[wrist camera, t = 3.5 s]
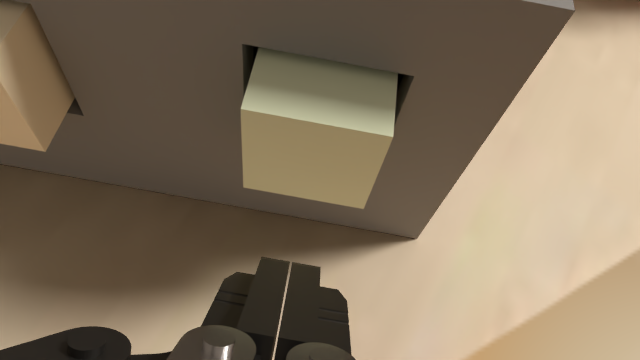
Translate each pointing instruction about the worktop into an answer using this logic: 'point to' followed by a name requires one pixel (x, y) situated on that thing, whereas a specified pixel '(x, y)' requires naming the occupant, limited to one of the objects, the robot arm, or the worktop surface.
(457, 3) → the keypad console
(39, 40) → the block
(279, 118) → the key sage
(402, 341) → the worktop surface
